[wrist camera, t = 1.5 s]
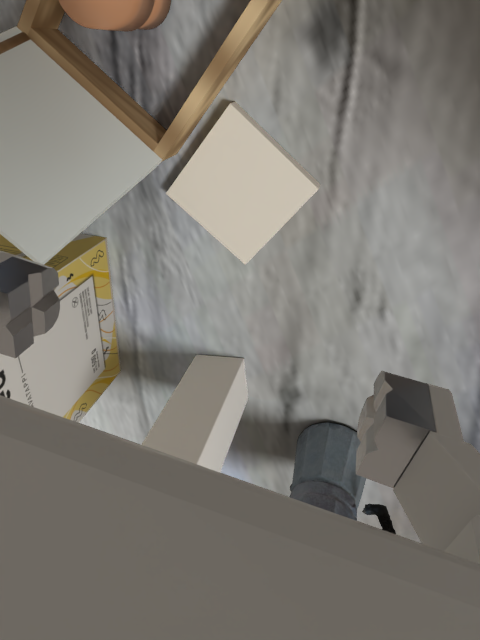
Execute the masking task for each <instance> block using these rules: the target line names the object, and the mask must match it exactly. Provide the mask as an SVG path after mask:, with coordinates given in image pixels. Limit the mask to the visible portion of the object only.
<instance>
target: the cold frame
mask: <svg viewBox="0 0 480 640" xmlns="http://www.w3.org/2000/svg"><path fill="white" fill-rule="evenodd" d="M281 1H282V0H251V1H250V2H249V4H248V6H247V7H246V9H245V10H244V12H243V13H242V15H241V16H240V18H239V19H238V21H237V23H236V24H235V26H234V27H233V29H232V30H231V32H230V33H229V35H228V37H227V38H226V40H225V41H224V43H223V44H222V46H221V47H220V49H219V50H218V52H217V54H216V55H215V57H214V58H213V60H212V61H211V63H210V64H209V66H208V68H207V69H206V71H205V72H204V74H203V75H202V77H201V78H200V80H199V81H198V83H197V85H196V86H195V88H194V89H193V91H192V92H191V94H190V95H189V97H188V99H187V100H186V102H185V103H184V105H183V106H182V108H181V109H180V111H179V112H178V114H177V116H176V117H175V119H174V120H173V122H172V123H171V125H170V126H169V128H168V130H166V129H164V128H163V127H162V126H161V125H160V124H159V123H158V122H157V121H156V120H155V119H154V118H153V117H151V116H150V115H149V114H148V113H147V112H146V111H145V110H144V109H143V108H142V107H141V106H140V105H139V104H137V103H136V102H135V101H134V100H133V99H132V98H131V97H130V96H129V95H128V94H127V93H126V92H125V91H123V90H122V89H121V88H120V87H119V86H118V85H117V84H116V83H115V82H114V81H113V80H112V79H111V78H109V77H108V76H107V75H106V74H105V73H104V72H103V71H102V70H101V69H100V68H99V67H98V66H97V65H95V64H94V63H93V62H92V61H91V60H90V59H89V58H88V57H87V56H86V55H85V54H84V53H83V52H81V51H80V50H79V49H78V48H77V47H76V46H75V45H74V44H73V43H72V42H71V41H70V40H69V39H67V38H66V37H65V36H64V35H63V34H62V33H61V32H60V31H59V30H58V27H59V24H60V22H61V20H62V17H63V15H64V12H65V11H64V9H63V8H62V6H61V4H60V3H59V1H58V0H26V3H25V6H24V8H23V11H22V14H21V17H20V20H19V22H18V25H17V28H19V29H20V30H21V31H22V32H21V33H19V34H17V35H15V36H13V37H11V38H9V39H6V40H4V41H2V42H0V54H2V53H4V52H6V51H8V50H10V49H12V48H14V47H16V46H18V45H20V44H22V43H24V42H26V41H28V40H30V39H31V40H32V41H33V42H34V43H35V44H36V45H37V46H38V47H39V48H40V49H42V50H43V51H44V52H45V53H46V54H47V55H48V56H49V57H50V58H51V59H52V60H54V61H55V62H56V63H57V64H58V65H59V66H60V67H61V68H62V69H63V70H65V71H66V72H67V73H68V74H69V75H70V76H71V77H72V78H73V79H74V80H76V81H77V82H78V83H79V84H80V85H81V86H82V87H83V88H84V89H85V90H86V91H88V92H89V93H90V94H91V95H92V96H93V97H94V98H95V99H96V100H97V101H99V102H100V103H101V104H102V105H103V106H104V107H105V108H106V109H107V110H108V111H109V112H111V113H112V114H113V115H114V116H115V117H116V118H117V119H118V120H119V121H120V122H122V123H123V124H124V125H125V126H126V127H127V128H128V129H129V130H130V131H131V132H132V133H134V134H135V135H136V136H137V137H138V138H139V139H140V140H141V141H142V142H143V143H145V144H146V145H147V146H148V147H149V148H150V149H151V150H152V151H153V152H154V153H156V154H157V155H158V156H159V157H160V158H161V159H162V161H164V160H166V159H168V158H170V157H172V156H174V155H176V154H177V153H178V152H179V150H180V149H181V147H182V146H183V144H184V143H185V141H186V140H187V138H188V137H189V135H190V134H191V133H192V131H193V130H194V128H195V127H196V125H197V124H198V122H199V121H200V119H201V118H202V116H203V115H204V114H205V112H206V111H207V109H208V108H209V106H210V105H211V103H212V102H213V100H214V99H215V98H216V96H217V95H218V93H219V92H220V90H221V89H222V87H223V86H224V84H225V83H226V81H227V80H228V79H229V77H230V76H231V74H232V73H233V71H234V70H235V68H236V67H237V65H238V64H239V62H240V61H241V60H242V58H243V57H244V55H245V54H246V52H247V51H248V49H249V48H250V46H251V45H252V44H253V42H254V41H255V39H256V38H257V36H258V35H259V33H260V32H261V30H262V29H263V27H264V26H265V25H266V23H267V22H268V20H269V19H270V17H271V16H272V14H273V13H274V11H275V10H276V8H277V7H278V6H279V4H280V3H281ZM162 161H161V162H162Z"/></svg>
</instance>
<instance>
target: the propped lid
mask: <svg viewBox="0 0 480 640" xmlns="http://www.w3.org/2000/svg"><path fill="white" fill-rule="evenodd" d="M21 32H22V31H21V30H20V29H19V28H17V27H13V28H11V29H9V30H7V31H5V32H2V33H0V42H2V41H4V40H6V39H9V38H11V37H13V36H15V35H17V34H19V33H21ZM161 161H162V159H161V158H160V157H159V156H158V155H157V154H156V153H154V152H153V151H152V150H151V149H150V148H149V147H148V146H147V145H146V144H145V143H143V142H142V141H141V140H140V139H139V138H138V137H137V136H136V135H135V134H134V133H132V132H131V131H130V130H129V129H128V128H127V127H126V126H125V125H124V124H123V123H122V122H120V121H119V120H118V119H117V118H116V117H115V116H114V115H113V114H112V113H111V112H109V111H108V110H107V109H106V108H105V107H104V106H103V105H102V104H101V103H100V102H99V101H97V100H96V99H95V98H94V97H93V96H92V95H91V94H90V93H89V92H88V91H86V90H85V89H84V88H83V87H82V86H81V85H80V84H79V83H78V82H77V81H76V80H74V79H73V78H72V77H71V76H70V75H69V74H68V73H67V72H66V71H65V70H63V69H62V68H61V67H60V66H59V65H58V64H57V63H56V62H55V61H54V60H52V59H51V58H50V57H49V56H48V55H47V54H46V53H45V52H44V51H43V50H42V49H40V48H39V47H38V46H37V45H36V44H35V43H34V42H33V41H32V40H31V39H30V40H28V41H26V42H24V43H22V44H20V45H18V46H16V47H14V48H12V49H10V50H8V51H6V52H4V53H2V54H0V234H1V235H2V236H3V237H4V238H6V239H7V240H8V241H9V242H11V243H12V244H13V245H14V246H15V247H17V248H18V249H19V250H20V251H22V252H23V253H24V254H25V255H26V256H28V257H29V258H30V259H31V260H33V261H34V262H37V263H40V264H43V265H44V264H45V263H47V262H48V261H49V260H50V259H51V258H52V257H53V256H55V255H56V254H57V253H58V252H59V251H60V250H62V249H63V248H64V247H65V246H66V245H67V244H68V243H70V242H71V241H72V240H73V239H74V238H75V237H76V236H78V235H79V234H80V233H81V232H82V231H83V230H85V229H86V228H87V227H88V226H89V225H90V224H91V223H93V222H94V221H95V220H96V219H97V218H98V217H100V216H101V215H102V214H103V213H104V212H105V211H106V210H108V209H109V208H110V207H111V206H112V205H113V204H115V203H116V202H117V201H118V200H119V199H120V198H121V197H123V196H124V195H125V194H126V193H127V192H128V191H130V190H131V189H132V188H133V187H134V186H135V185H136V184H138V183H139V182H140V181H141V180H142V179H143V178H144V177H146V176H147V175H148V174H149V173H150V172H151V171H153V170H154V169H155V168H156V167H157V166H158V165H159V164H160V163H161Z"/></svg>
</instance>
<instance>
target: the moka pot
mask: <svg viewBox="0 0 480 640" xmlns="http://www.w3.org/2000/svg"><path fill="white" fill-rule="evenodd" d="M360 443H361V442H360V440H359V439H358V437H357V432H355V431H353V430H352V429H350V428H348V427H345V426H342V425H338V424H333V423H320V424H315V425H311V426H309V427H308V428H306V429H305V430H304V431H303V432H302V434H301V435H300V436H299V438H298V440H297V448H296V457H295V466H294V475H293V483H292V484H291V486H290V491H291V495H290V498H293V499H296V500H299V501H302V502H304V503H307V504H310V505H313V506H316V507H319V508H321V509H324V510H327V511H330V512H333V513H336V514H339V515H341V516H344V517H347V518H350V519H353V520H356V521H357V508H358V506H359V502H360V499H361V496H362V492H363V488H364V485H365V481H366V478H364V477H362V476H359V475H356V451H357V449H358V447H359V445H360ZM362 512H364V513H365V514H367V515H377V516H378V519H379V522H380V524H381V526H382V528H383V529H382V530H384V531H387V532H390V533H393V534H396V533H395V530H394V529H393V525H392V521H391V520H390V516H389V514H388V511H387V508H386V506H383V505H380V504H375V505H374V504H373V505H372V504H368V505H367V504H366V505H365V508H364V510H363V511H362Z"/></svg>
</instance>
